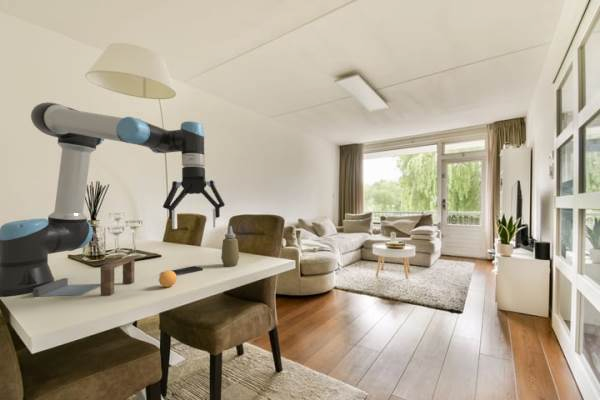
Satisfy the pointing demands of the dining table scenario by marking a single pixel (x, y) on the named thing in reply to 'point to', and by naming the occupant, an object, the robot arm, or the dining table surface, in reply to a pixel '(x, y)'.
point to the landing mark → (72, 290)
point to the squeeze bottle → (230, 249)
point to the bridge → (108, 274)
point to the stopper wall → (50, 287)
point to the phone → (186, 270)
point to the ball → (167, 278)
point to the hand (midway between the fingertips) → (195, 228)
